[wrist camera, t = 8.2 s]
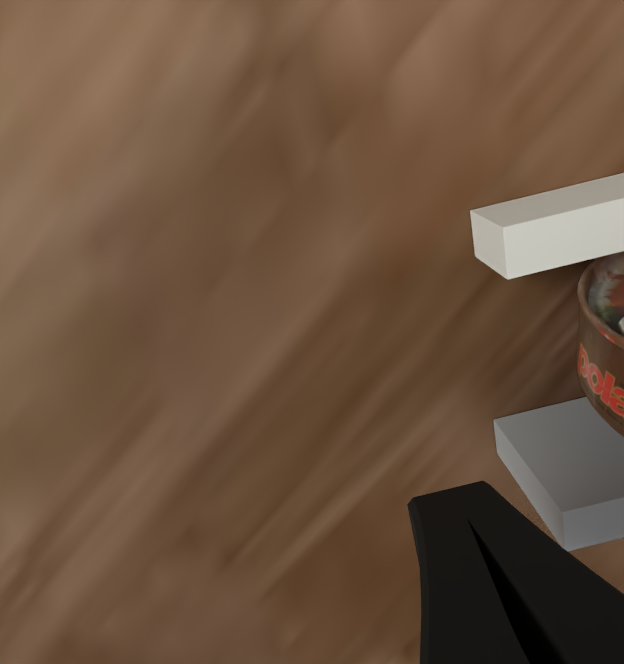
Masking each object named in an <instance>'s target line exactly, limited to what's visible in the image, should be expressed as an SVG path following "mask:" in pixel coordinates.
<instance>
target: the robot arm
mask: <svg viewBox="0 0 624 664" xmlns="http://www.w3.org/2000/svg"><path fill="white" fill-rule="evenodd" d="M408 510H409V515H410V520H411V525H412V530H413V535H414V540H415V546H416V551H417V556H418V561H419V566H420V581H421V644H420V664H624V594H623V593H622V592H620V591H619V590H617V589H616V588H615V587H613V586H612V585H611V584H609V583H608V582H606V581H605V580H604V579H602V578H601V577H600V576H598V575H597V574H596V573H594V572H593V571H592V570H590V569H589V568H588V567H587V566H585V565H584V564H583V563H581V562H580V561H579V560H578V559H576V558H575V557H574V556H573V555H571V554H570V553H569V552H567V551H566V550H565V549H564V548H562V547H561V546H560V545H558V544H557V543H556V542H555V541H554V540H552V539H551V538H550V537H549V536H547V535H546V534H545V533H544V532H543V531H541V530H540V529H539V528H538V527H537V526H536V525H534V524H533V523H532V522H531V521H530V520H528V519H527V518H526V517H525V516H524V515H523V514H521V513H520V512H519V511H518V510H517V509H516V508H515V507H514V506H512V505H511V504H510V503H509V502H508V501H507V500H506V499H505V498H504V497H502V496H501V495H500V494H499V493H498V492H497V491H496V490H495V489H494V488H493V487H492V486H491V485H489V484H488V483H486V482H484V481H479V482H475V483H471V484H467V485H463V486H459V487H455V488H451V489H447V490H442V491H438V492H434V493H430V494H426V495H422V496H418V497H414V498H412V500H411V501H410V502H409V503H408Z"/></svg>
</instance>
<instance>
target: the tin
mask: <svg viewBox="0 0 624 664" xmlns="http://www.w3.org/2000/svg"><path fill="white" fill-rule="evenodd" d="M577 294H578V300H579V304H580V306H581V307H580V319H579V330H578V341H577V353H576V364H577V376H578V379H579V383H580V386H581V388H582V390H583V392H584V394H585V395H586V397H587V398H588V400H589V402H590V403H591V405H592V406H593V407H594V409H595V410H596V411H597V412H598V414H599V415H600V416H601V417H602V418H603V419H604V420H605V421H606V422H607V423H608V424H609V425H610V426H611V427H612V428H613V429H614V430H615V431H617V432H618V433H619V434H620V435H621V436H623V437H624V251H622V252H618V253H614V254H610V255H606V256H602V257H598V258H596V259H595V260H594V261H593V262H591V263H590V264H589V265H588V266H587V267H586V269H585V270H584V272H583V273H582V275H581V277H580V280H579V283H578V290H577Z"/></svg>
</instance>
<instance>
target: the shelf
mask: <svg viewBox="0 0 624 664" xmlns="http://www.w3.org/2000/svg"><path fill="white" fill-rule="evenodd" d="M470 215H471V224H472V233H473V242H474V251H475V257H477V258H478V259H479V260H481V261H482V262H484V263H485V264H486V265H488V266H489V267H491V268H492V269H493V270H495V271H496V272H498V273H499V274H500V275H502V276H503V277H504V278H506V279H507V280H508V279H512V278H516V277H520V276H524V275H528V274H532V273H536V272H540V271H544V270H549V269H553V268H557V267H561V266H565V265H569V264H573V263H577V262H581V261H585V260H589V259H593V258H598V257H602V256H606V255H610V254H614V253H618V252H622V251H624V173H621V174H617V175H613V176H609V177H605V178H601V179H597V180H592V181H588V182H584V183H580V184H576V185H572V186H568V187H564V188H560V189H556V190H552V191H548V192H543V193H539V194H535V195H531V196H527V197H523V198H519V199H515V200H511V201H507V202H503V203H498V204H494V205H490V206H486V207H482V208H478V209H474V210H470ZM493 421H494V430H495V439H496V448H497V454H498V455H499V457H500V458H501V460H502V461H503V462H504V464H505V465H506V467H507V468H508V470H509V471H510V473H511V474H512V476H513V477H514V479H515V480H516V481H517V483H518V484H519V486H520V487H521V489H522V490H523V492H524V493H525V495H526V496H527V498H528V499H529V500H530V502H531V503H532V505H533V506H534V508H535V509H536V511H537V512H538V514H539V515H540V517H541V518H542V519H543V521H544V522H545V524H546V525H547V527H548V528H549V530H550V531H551V533H552V534H553V536H554V537H555V538H556V540H557V541H558V543H559V544H560V546H561V547H562V548H564V549H565V550H566V551H571V550H575V549H579V548H583V547H587V546H591V545H595V544H599V543H603V542H607V541H611V540H615V539H619V538H624V437H623V436H621V435H620V434H619V433H618V432H617V431H615V430H614V429H613V428H612V427H611V426H610V425H609V424H608V423H607V422H606V421H605V420H604V419H603V418H602V417H601V416H600V415H599V414H598V412H597V411H596V410H595V409H594V407H593V406H592V405H591V403H590V402H589V400H588V398H587V397H583V398H579V399H575V400H571V401H567V402H563V403H559V404H555V405H551V406H547V407H542V408H538V409H534V410H530V411H526V412H522V413H518V414H514V415H510V416H506V417H502V418H498V419H494V420H493Z"/></svg>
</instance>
